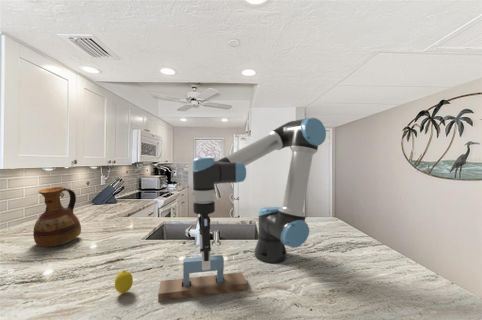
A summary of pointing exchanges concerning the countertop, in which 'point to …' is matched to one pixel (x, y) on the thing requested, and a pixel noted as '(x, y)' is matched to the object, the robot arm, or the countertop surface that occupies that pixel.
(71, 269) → the countertop surface
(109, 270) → the countertop surface
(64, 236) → the ceramic pitcher
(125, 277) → the lemon
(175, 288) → the rail
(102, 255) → the countertop surface
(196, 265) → the clip
